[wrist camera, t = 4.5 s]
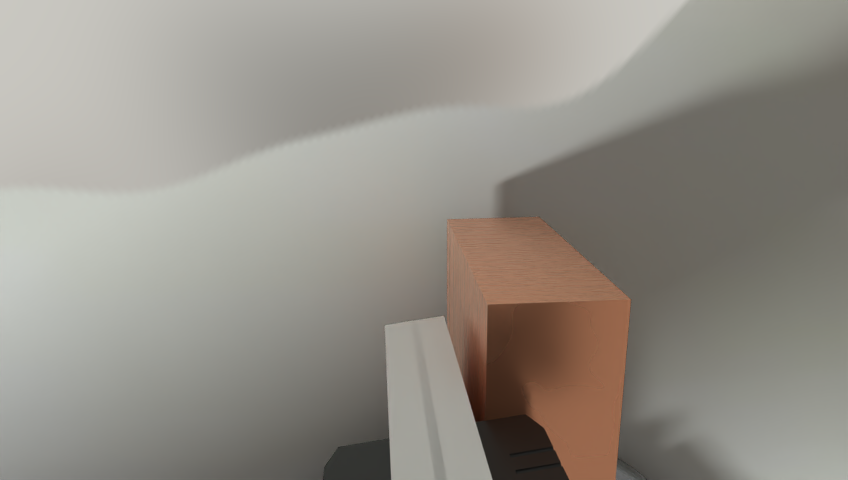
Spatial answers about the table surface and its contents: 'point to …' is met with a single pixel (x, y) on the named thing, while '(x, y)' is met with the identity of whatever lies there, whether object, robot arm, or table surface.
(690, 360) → the table surface
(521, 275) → the tan and copper piece
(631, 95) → the table surface
